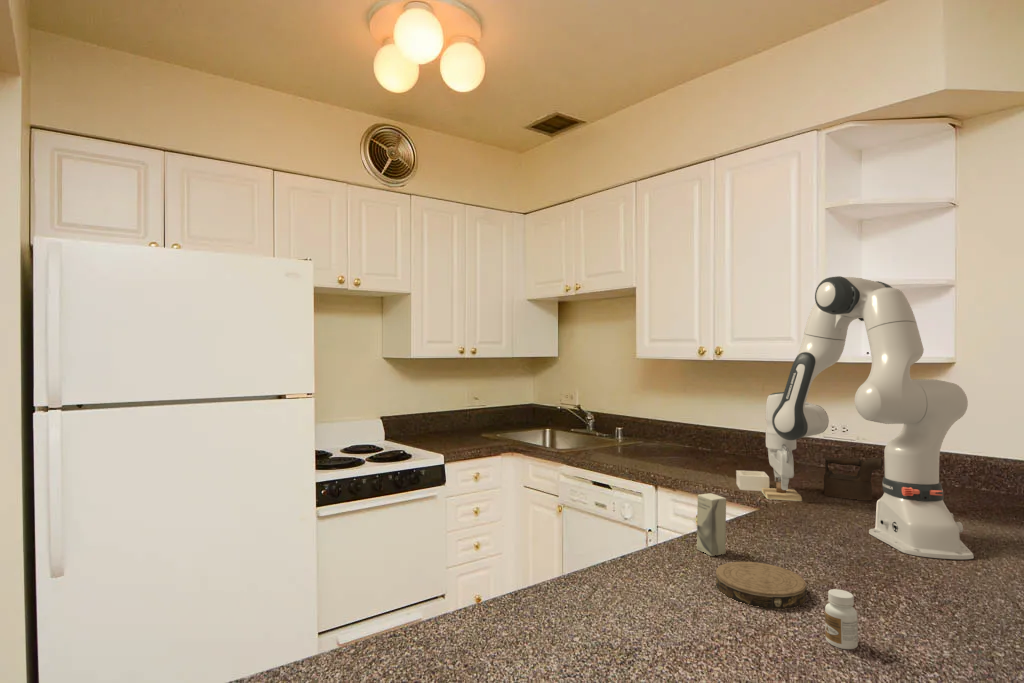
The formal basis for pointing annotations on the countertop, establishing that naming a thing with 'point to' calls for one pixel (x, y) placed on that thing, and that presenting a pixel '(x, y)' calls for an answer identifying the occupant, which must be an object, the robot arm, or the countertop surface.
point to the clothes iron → (850, 478)
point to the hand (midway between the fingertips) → (781, 486)
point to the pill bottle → (841, 620)
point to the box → (711, 524)
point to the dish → (752, 480)
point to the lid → (781, 493)
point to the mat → (780, 499)
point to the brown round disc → (761, 585)
